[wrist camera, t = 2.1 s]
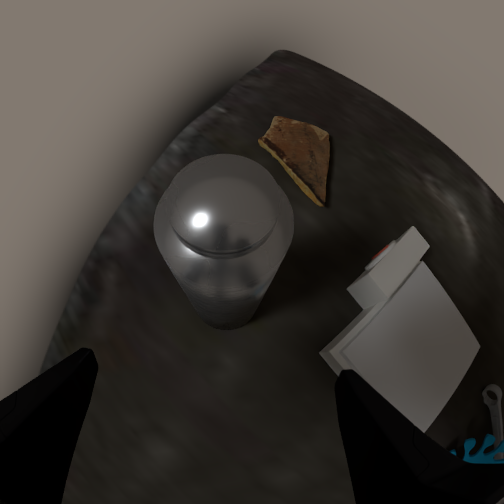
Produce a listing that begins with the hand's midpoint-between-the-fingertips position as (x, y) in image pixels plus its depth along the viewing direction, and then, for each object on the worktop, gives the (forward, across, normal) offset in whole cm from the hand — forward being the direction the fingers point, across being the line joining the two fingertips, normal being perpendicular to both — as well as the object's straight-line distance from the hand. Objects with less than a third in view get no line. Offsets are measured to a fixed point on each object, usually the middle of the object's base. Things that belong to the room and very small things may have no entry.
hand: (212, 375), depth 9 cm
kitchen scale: (+10, -15, +7) cm, 19 cm away
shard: (+24, -8, -6) cm, 26 cm away
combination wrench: (-1, -32, +19) cm, 37 cm away
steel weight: (+12, 0, +5) cm, 13 cm away
